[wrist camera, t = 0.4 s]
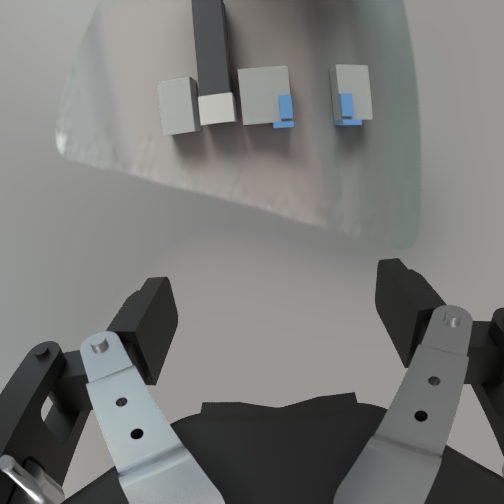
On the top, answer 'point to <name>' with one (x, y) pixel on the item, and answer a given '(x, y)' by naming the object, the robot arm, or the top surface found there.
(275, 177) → the top surface
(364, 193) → the top surface
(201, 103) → the tall dark pillar
